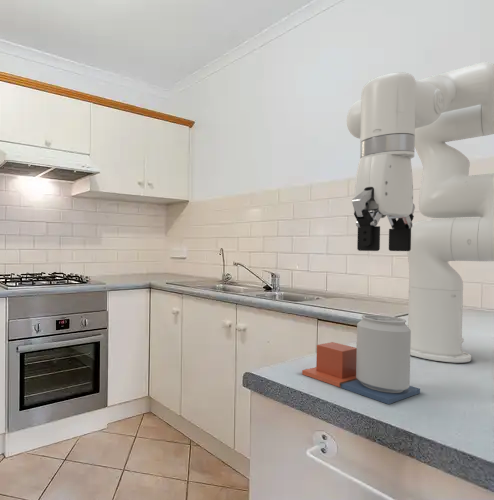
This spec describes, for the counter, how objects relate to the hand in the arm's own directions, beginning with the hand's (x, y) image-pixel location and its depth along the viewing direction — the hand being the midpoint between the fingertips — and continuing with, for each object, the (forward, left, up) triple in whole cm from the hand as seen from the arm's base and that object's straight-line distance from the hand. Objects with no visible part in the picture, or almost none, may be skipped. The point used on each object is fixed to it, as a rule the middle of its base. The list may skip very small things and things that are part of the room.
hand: (384, 250), depth 63 cm
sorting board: (0, -4, -24) cm, 25 cm away
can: (0, 0, -24) cm, 24 cm away
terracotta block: (0, -8, -23) cm, 25 cm away
